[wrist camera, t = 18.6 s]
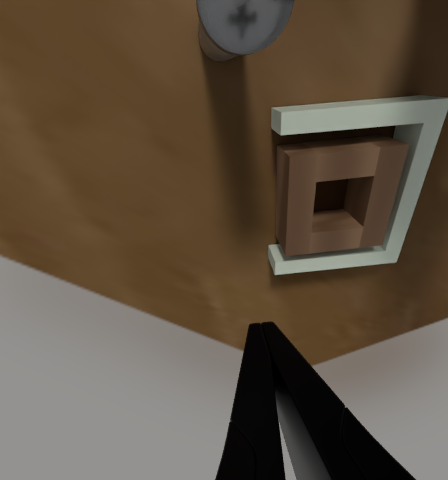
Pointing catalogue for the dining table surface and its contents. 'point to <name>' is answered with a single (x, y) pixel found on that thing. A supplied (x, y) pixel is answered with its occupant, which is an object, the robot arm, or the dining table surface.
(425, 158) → the open c-shaped clip
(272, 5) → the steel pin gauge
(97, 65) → the dining table surface
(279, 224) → the walnut block
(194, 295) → the dining table surface
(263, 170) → the dining table surface
